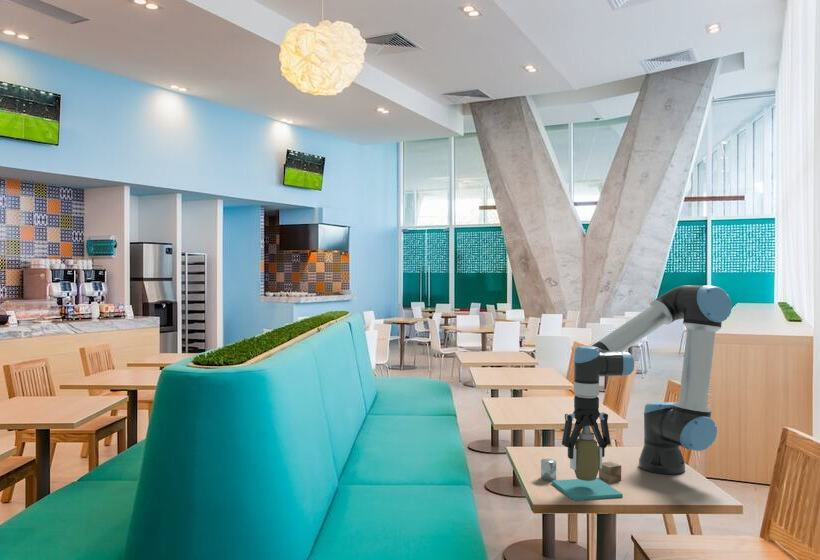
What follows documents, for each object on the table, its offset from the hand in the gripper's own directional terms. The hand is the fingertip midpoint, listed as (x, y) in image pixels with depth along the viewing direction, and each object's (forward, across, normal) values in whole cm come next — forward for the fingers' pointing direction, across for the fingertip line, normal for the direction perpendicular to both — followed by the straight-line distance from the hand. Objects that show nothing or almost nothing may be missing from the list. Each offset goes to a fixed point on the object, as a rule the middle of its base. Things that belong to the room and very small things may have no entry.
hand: (586, 467), depth 201 cm
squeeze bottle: (+4, 0, 0) cm, 4 cm away
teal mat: (+7, 0, 0) cm, 7 cm away
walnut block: (+7, -13, -9) cm, 17 cm away
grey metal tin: (+7, +7, -13) cm, 16 cm away
